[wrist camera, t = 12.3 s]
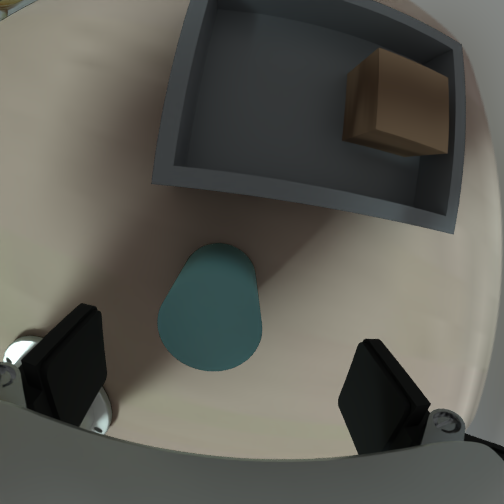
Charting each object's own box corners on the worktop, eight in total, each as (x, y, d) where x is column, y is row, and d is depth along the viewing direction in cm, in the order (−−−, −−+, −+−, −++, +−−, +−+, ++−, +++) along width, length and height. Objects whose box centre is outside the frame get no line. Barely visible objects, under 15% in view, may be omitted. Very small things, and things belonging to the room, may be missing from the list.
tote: (426, 62, 18) (461, 44, 13) (413, 223, 21) (453, 234, 16) (206, 5, 16) (202, -34, 11) (170, 183, 19) (151, 183, 14)
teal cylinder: (240, 320, 21) (240, 382, 15) (174, 297, 21) (148, 351, 14) (266, 258, 20) (278, 301, 13) (196, 232, 20) (173, 264, 13)
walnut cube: (404, 157, 19) (447, 153, 14) (341, 140, 18) (375, 129, 13) (407, 94, 17) (448, 77, 13) (347, 74, 17) (379, 47, 12)
